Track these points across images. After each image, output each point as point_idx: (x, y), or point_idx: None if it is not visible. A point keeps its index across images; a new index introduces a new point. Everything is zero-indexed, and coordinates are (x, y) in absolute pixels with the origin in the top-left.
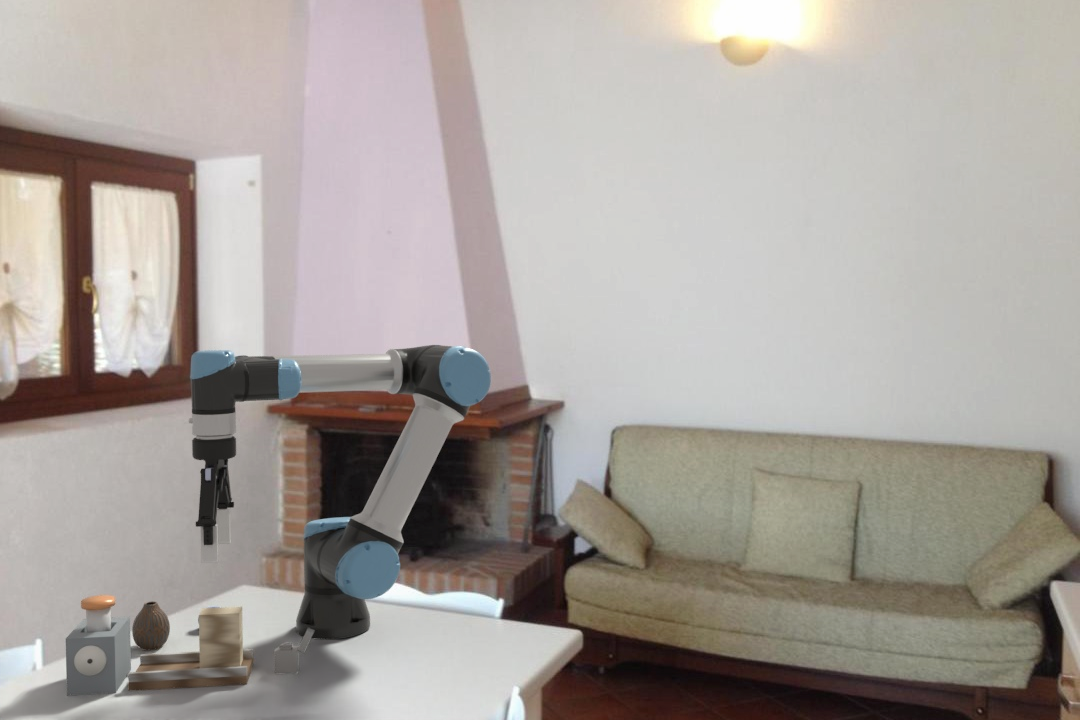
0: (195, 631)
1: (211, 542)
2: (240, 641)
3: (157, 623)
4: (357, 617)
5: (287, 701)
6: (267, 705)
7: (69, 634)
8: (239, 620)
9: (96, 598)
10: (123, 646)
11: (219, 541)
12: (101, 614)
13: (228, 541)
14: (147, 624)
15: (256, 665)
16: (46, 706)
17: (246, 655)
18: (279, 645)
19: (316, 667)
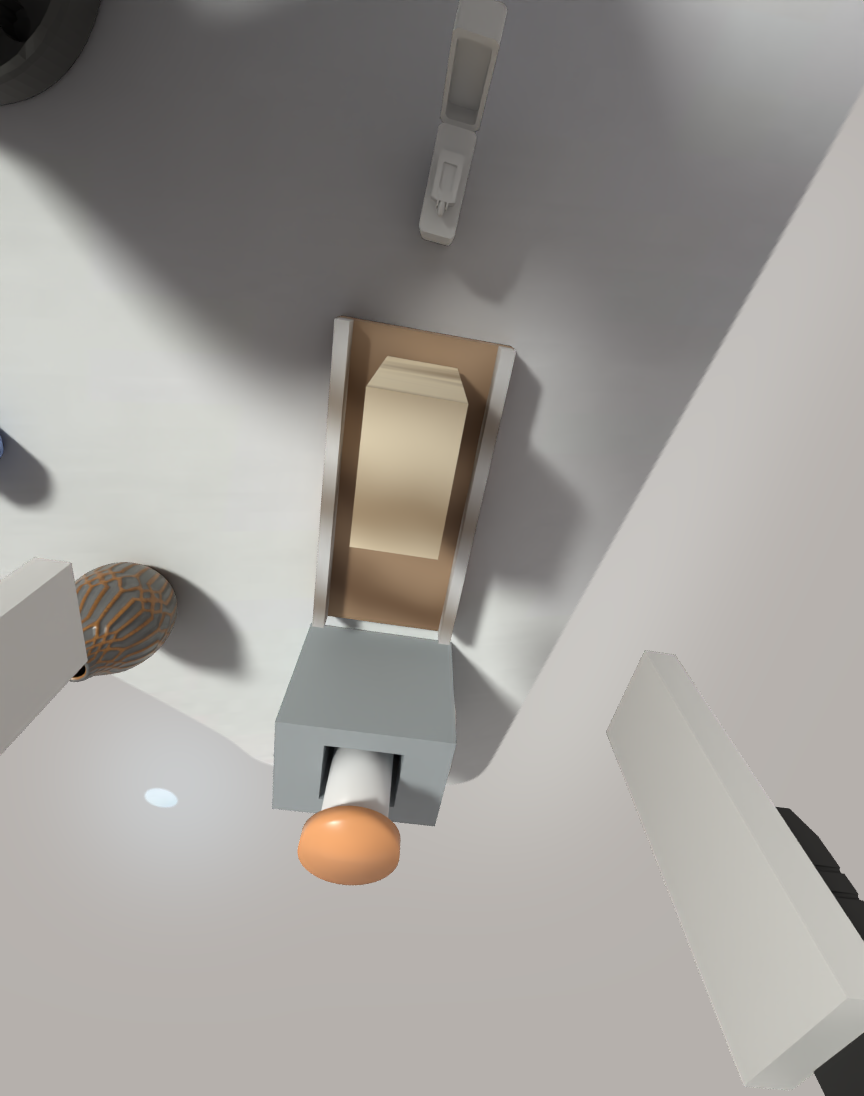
0: (8, 484)
1: (812, 837)
2: (440, 377)
3: (139, 616)
4: None
5: (707, 221)
6: (704, 291)
7: (402, 822)
8: (464, 396)
9: (333, 859)
10: (366, 687)
11: (69, 646)
12: (386, 811)
13: (62, 583)
14: (150, 640)
15: (354, 305)
16: (479, 738)
17: (350, 342)
18: (443, 213)
19: (434, 61)
